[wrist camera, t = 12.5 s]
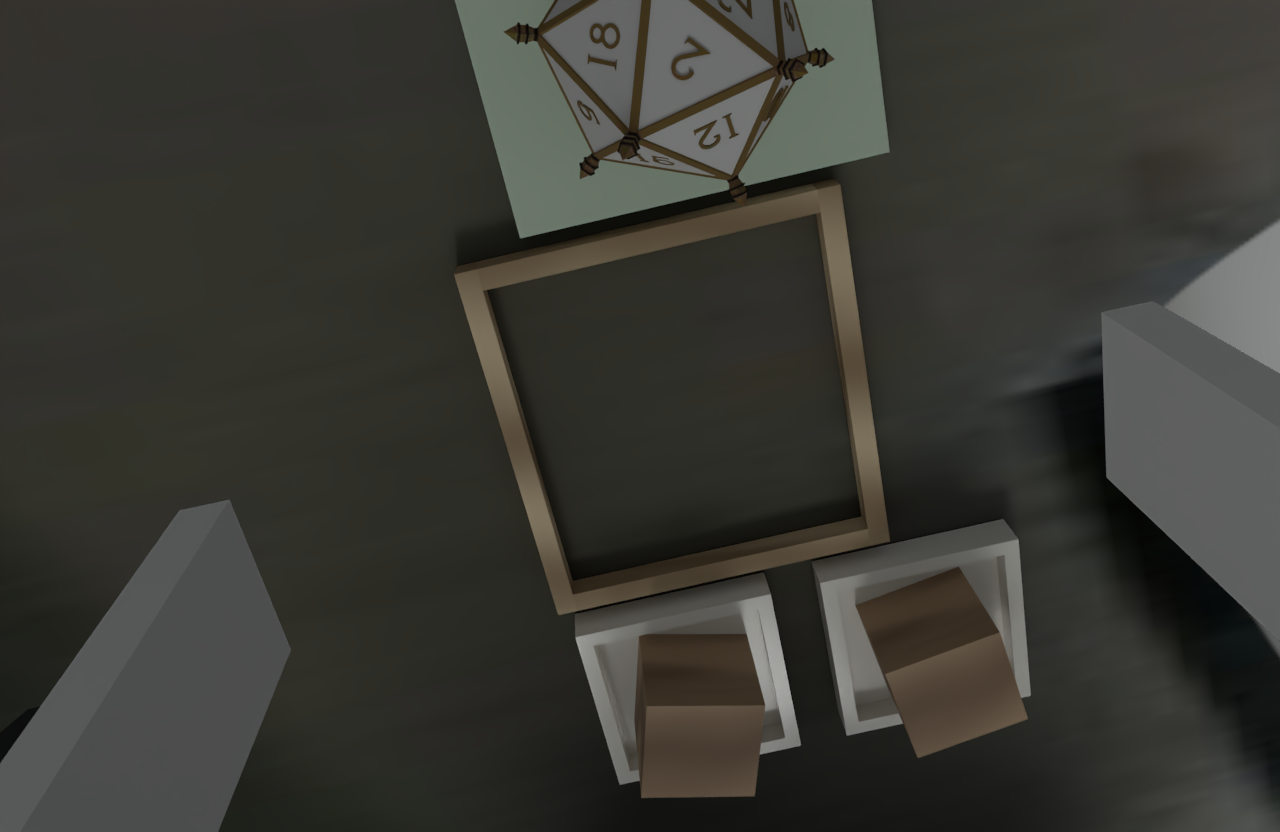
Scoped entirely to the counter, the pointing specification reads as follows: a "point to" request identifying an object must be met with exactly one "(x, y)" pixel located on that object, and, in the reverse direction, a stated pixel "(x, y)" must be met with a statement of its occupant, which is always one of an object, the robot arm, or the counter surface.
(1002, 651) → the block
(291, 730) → the counter surface
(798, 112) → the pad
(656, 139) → the game die
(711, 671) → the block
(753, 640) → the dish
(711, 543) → the counter surface
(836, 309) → the oak frame
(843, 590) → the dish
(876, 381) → the counter surface
